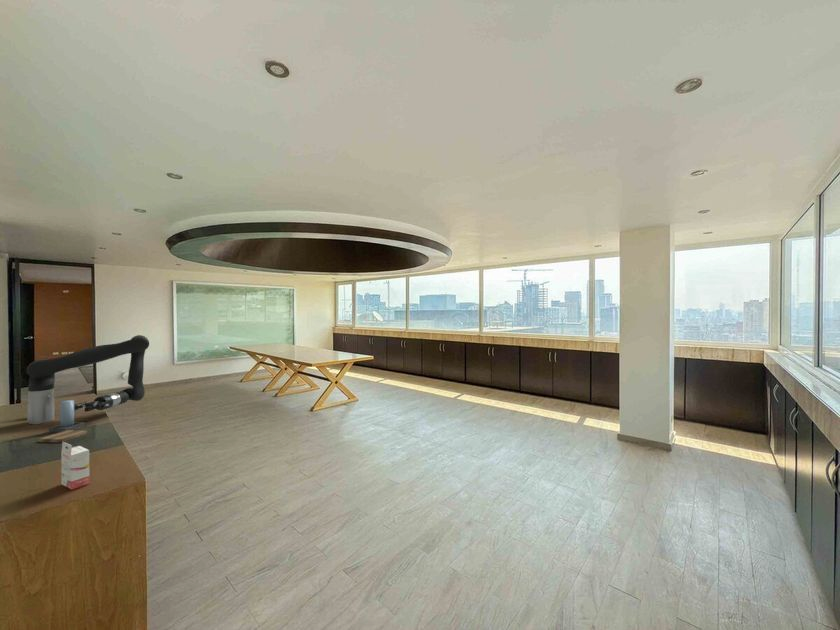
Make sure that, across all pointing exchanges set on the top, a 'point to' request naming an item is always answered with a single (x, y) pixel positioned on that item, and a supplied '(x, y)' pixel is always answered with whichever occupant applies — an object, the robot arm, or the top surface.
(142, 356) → the robot arm
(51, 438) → the walnut board
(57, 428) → the square grey frame
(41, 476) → the top surface
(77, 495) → the top surface
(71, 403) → the canister
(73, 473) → the ink cartridge box
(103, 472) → the top surface
